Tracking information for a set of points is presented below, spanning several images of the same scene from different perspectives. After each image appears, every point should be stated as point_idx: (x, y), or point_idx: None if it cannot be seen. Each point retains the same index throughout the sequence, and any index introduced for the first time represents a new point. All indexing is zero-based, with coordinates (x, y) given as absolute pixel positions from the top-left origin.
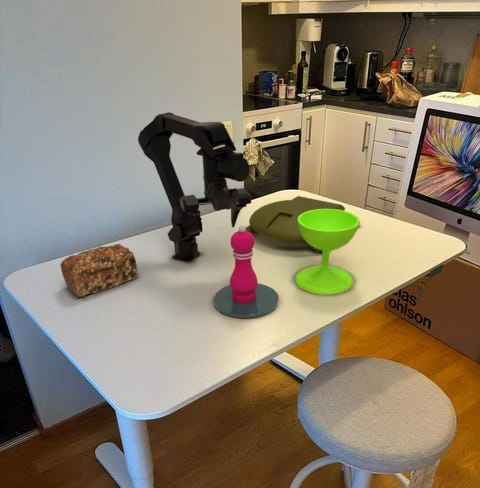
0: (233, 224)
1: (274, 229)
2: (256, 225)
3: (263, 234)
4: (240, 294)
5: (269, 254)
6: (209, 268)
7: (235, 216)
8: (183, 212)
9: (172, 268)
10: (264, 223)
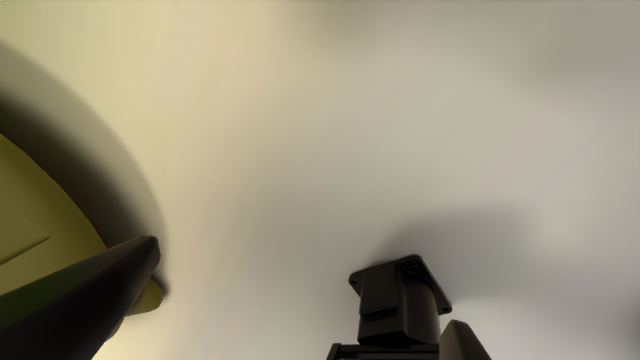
0: (124, 253)
1: (18, 210)
2: None
3: (84, 220)
4: None
5: (119, 138)
6: (377, 170)
7: (3, 316)
8: None
9: (505, 251)
10: (47, 265)
